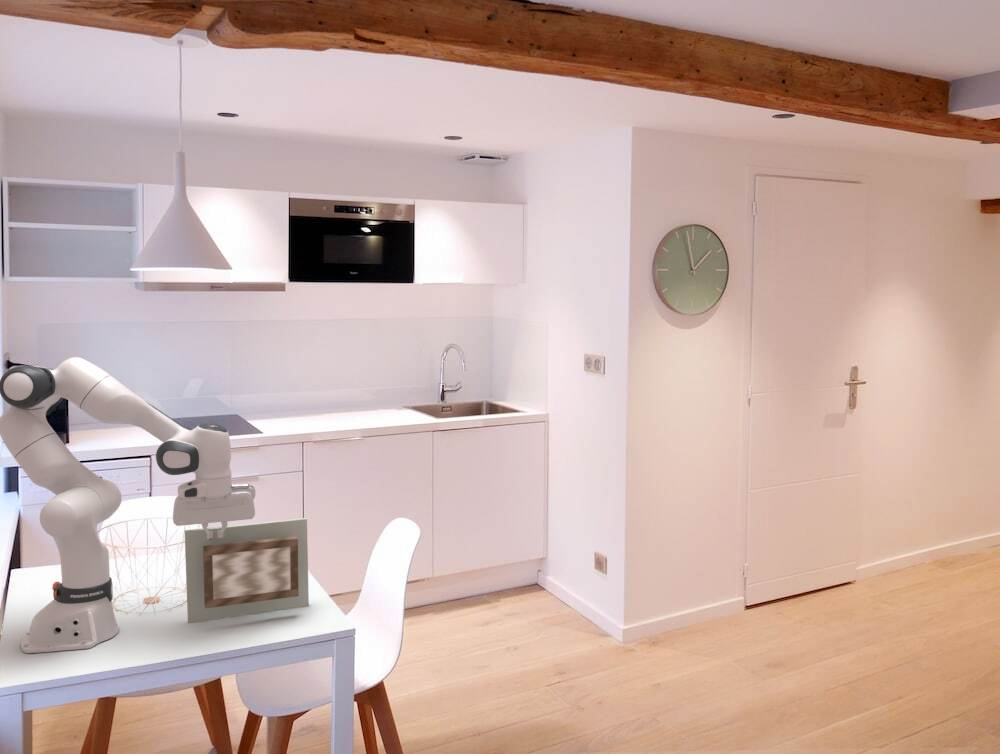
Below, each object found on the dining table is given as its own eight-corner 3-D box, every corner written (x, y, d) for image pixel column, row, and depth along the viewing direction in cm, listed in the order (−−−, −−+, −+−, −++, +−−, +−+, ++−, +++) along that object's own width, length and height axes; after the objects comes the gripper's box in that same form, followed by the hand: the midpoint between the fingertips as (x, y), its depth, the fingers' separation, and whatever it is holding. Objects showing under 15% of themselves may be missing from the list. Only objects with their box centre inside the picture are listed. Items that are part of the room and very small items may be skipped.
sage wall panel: (189, 629, 227) (186, 536, 225) (187, 621, 233) (184, 530, 230) (311, 611, 240) (310, 523, 237) (307, 604, 246) (305, 517, 243)
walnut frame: (205, 608, 226) (203, 548, 224) (204, 605, 228) (203, 545, 226) (298, 596, 235) (297, 538, 234) (296, 593, 238) (296, 536, 236)
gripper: (253, 480, 232) (254, 531, 233) (171, 486, 223) (172, 539, 225) (256, 485, 226) (257, 537, 227) (173, 492, 218) (174, 546, 219)
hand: (214, 538), depth 226 cm, fingers closed
